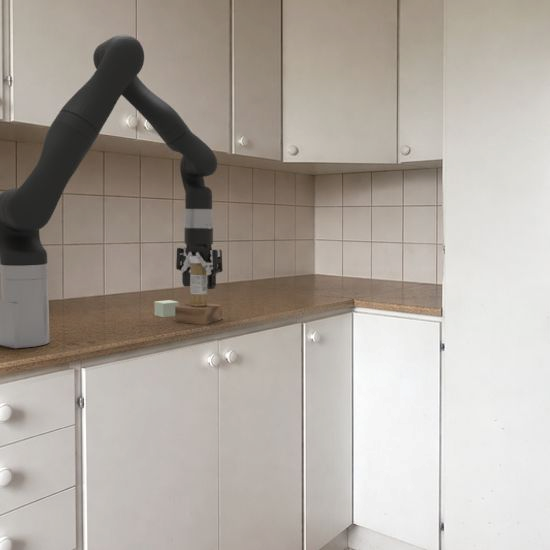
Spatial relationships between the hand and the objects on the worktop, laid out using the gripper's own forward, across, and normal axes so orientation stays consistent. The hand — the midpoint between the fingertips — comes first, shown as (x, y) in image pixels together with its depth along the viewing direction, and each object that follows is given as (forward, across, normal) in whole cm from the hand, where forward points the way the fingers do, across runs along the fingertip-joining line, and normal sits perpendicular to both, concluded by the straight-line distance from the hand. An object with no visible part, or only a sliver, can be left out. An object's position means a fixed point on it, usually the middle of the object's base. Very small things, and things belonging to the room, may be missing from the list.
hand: (198, 287), depth 155 cm
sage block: (+9, -13, +1) cm, 16 cm away
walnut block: (+9, 0, 0) cm, 9 cm away
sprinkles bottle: (+5, 0, 0) cm, 5 cm away
